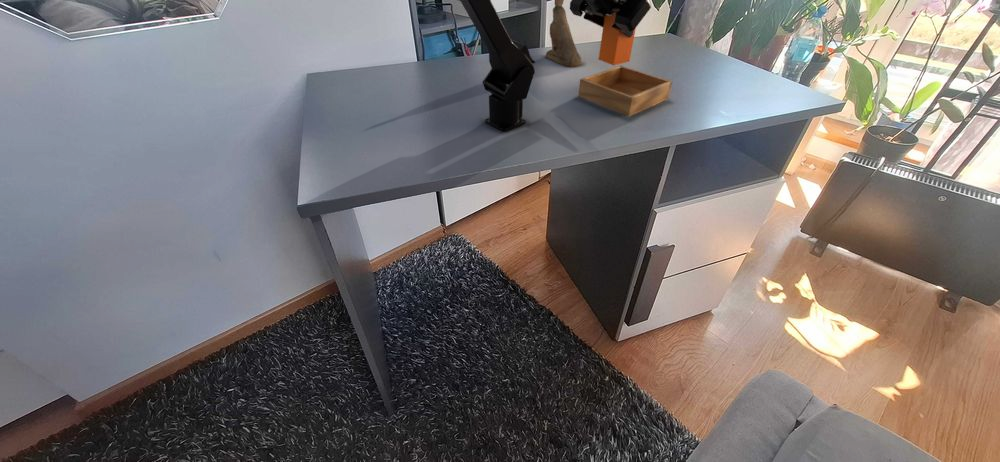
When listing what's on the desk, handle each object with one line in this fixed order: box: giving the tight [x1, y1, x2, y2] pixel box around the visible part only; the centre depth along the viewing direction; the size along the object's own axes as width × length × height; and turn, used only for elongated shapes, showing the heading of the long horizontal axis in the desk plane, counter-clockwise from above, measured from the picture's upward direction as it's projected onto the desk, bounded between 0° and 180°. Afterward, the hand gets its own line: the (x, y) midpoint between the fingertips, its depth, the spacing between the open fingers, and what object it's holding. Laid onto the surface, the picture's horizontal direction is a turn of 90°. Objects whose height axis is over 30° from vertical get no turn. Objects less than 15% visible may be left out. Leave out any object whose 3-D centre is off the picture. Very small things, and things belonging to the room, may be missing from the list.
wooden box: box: [578, 64, 673, 117], centre depth 95 cm, size 15×15×5 cm
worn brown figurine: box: [545, 0, 582, 68], centre depth 116 cm, size 12×6×18 cm, turn 28°
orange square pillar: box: [598, 12, 637, 66], centre depth 92 cm, size 5×5×11 cm
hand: (622, 32), depth 92 cm, fingers closed on orange square pillar, 5 cm apart
